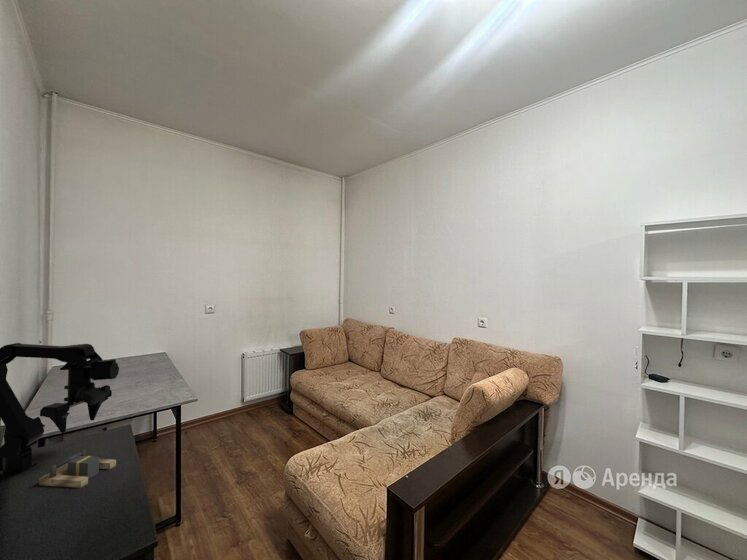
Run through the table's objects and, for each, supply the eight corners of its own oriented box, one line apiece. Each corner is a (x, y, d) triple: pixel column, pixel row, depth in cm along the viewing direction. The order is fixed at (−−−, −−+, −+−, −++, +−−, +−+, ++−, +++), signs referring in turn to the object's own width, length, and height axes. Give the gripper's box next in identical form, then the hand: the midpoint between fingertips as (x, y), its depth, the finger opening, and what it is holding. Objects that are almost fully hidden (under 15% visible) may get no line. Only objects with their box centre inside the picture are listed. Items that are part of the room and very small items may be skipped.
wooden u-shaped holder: (39, 485, 90) (39, 467, 90) (78, 463, 101) (78, 448, 101) (80, 487, 89) (81, 470, 89) (115, 465, 100) (116, 450, 100)
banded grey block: (87, 479, 93) (87, 463, 93) (67, 478, 93) (67, 462, 93) (99, 472, 96) (99, 456, 96) (79, 471, 97) (80, 455, 97)
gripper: (70, 391, 93) (69, 441, 93) (125, 374, 112) (124, 415, 111) (39, 390, 94) (37, 439, 94) (98, 373, 113) (97, 414, 112)
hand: (78, 426), depth 103 cm, fingers open, 9 cm apart
